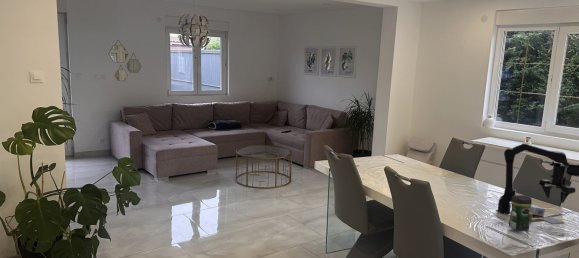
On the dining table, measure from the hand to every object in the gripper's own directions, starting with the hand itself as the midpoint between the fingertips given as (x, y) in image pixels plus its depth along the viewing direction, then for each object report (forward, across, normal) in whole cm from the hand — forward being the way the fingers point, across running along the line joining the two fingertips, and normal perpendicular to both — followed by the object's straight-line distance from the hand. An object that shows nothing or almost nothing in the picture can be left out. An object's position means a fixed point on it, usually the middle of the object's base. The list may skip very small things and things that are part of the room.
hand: (555, 200), depth 238 cm
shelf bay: (+12, +6, +9) cm, 16 cm away
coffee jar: (+12, -6, +31) cm, 34 cm away
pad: (+12, 0, 0) cm, 12 cm away
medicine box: (+9, +7, +1) cm, 12 cm away
